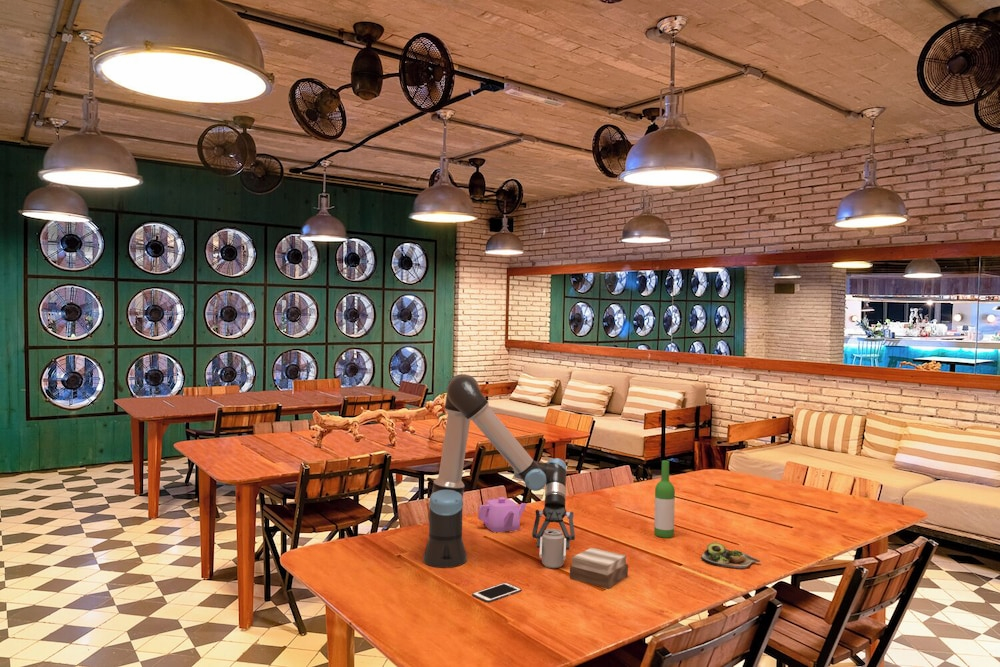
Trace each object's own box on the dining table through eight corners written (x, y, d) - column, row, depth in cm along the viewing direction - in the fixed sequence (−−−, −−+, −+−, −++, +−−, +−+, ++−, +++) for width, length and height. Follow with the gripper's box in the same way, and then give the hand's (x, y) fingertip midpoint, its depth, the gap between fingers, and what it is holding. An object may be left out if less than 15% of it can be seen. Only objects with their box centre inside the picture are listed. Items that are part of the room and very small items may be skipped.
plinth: (607, 588, 214) (608, 566, 214) (569, 578, 223) (570, 557, 223) (627, 576, 226) (628, 555, 226) (590, 567, 234) (591, 546, 234)
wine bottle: (672, 533, 275) (673, 459, 275) (675, 539, 268) (676, 463, 268) (652, 532, 276) (654, 458, 276) (655, 538, 268) (656, 462, 268)
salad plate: (763, 559, 246) (763, 546, 246) (755, 574, 231) (755, 560, 231) (709, 550, 256) (709, 538, 256) (697, 563, 240) (698, 550, 240)
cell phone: (470, 596, 207) (471, 593, 207) (505, 584, 217) (505, 581, 217) (487, 604, 202) (487, 601, 202) (522, 592, 212) (522, 589, 212)
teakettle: (491, 519, 290) (491, 491, 290) (528, 525, 284) (528, 495, 284) (473, 530, 275) (474, 500, 275) (512, 536, 268) (513, 505, 268)
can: (550, 560, 240) (550, 526, 240) (567, 565, 236) (568, 530, 235) (537, 565, 235) (538, 530, 234) (555, 570, 230) (556, 535, 230)
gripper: (583, 504, 249) (582, 563, 233) (527, 502, 251) (523, 560, 235) (583, 493, 244) (582, 553, 228) (526, 491, 246) (522, 550, 230)
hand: (552, 556), depth 232 cm, fingers closed on can, 7 cm apart
